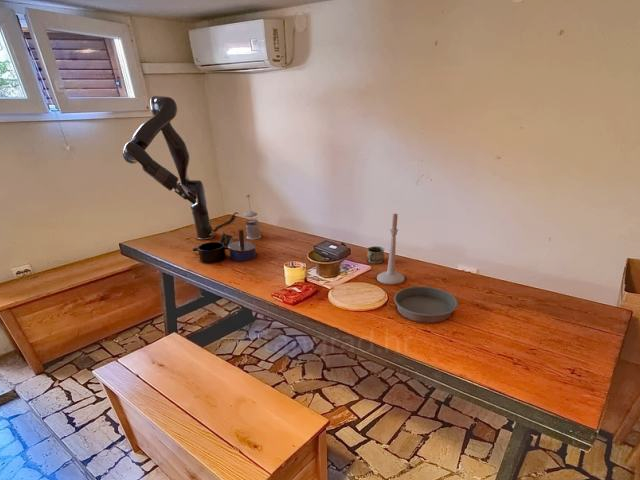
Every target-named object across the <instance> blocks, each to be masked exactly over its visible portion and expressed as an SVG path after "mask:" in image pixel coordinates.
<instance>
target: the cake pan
mask: <svg viewBox="0 0 640 480" xmlns="http://www.w3.org/2000/svg"><path fill="white" fill-rule="evenodd" d="M393 301H394V304H395V305H396V308H397V311H398V313H399V314H400V315H401V316H403V317H404V318H406V319H408V320H411V321H413V322H418V323H426V324H433V323H439V322H443V321H445V320H447V319H449V318H450V316H451V315H452V314H453V312H454V311H455V310H456V309H457V308H458V306H459V302H458V299H457V297H456V296H454V295H453V294H452V293H450V292H448V291H447V290H443V289H440V288H438V287H432V286H423V285H421V286H409V287H406V288H402V289H400V290H399V291H397V292H396V293H395V294H394V296H393Z"/></svg>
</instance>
